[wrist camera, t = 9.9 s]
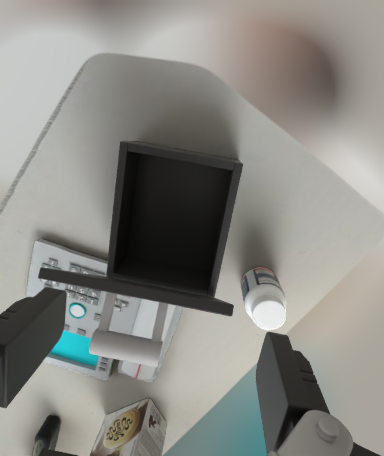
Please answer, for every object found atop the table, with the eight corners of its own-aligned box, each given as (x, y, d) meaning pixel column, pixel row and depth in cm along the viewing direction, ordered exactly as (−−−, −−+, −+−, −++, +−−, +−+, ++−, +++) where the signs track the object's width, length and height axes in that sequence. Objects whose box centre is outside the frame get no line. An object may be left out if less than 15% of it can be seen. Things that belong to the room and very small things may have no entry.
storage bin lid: (39, 266, 22) (17, 346, 21) (233, 304, 22) (220, 387, 21) (105, 276, 40) (94, 320, 39) (214, 297, 39) (206, 343, 38)
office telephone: (189, 293, 45) (152, 402, 50) (190, 285, 47) (155, 390, 53) (29, 243, 44) (9, 359, 50) (39, 237, 47) (19, 348, 52)
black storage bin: (135, 140, 42) (120, 141, 35) (239, 159, 42) (243, 163, 35) (121, 258, 47) (105, 278, 40) (214, 276, 46) (213, 299, 40)
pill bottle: (254, 306, 47) (263, 343, 38) (233, 279, 46) (237, 311, 38) (285, 286, 46) (300, 320, 37) (264, 259, 45) (274, 287, 36)
